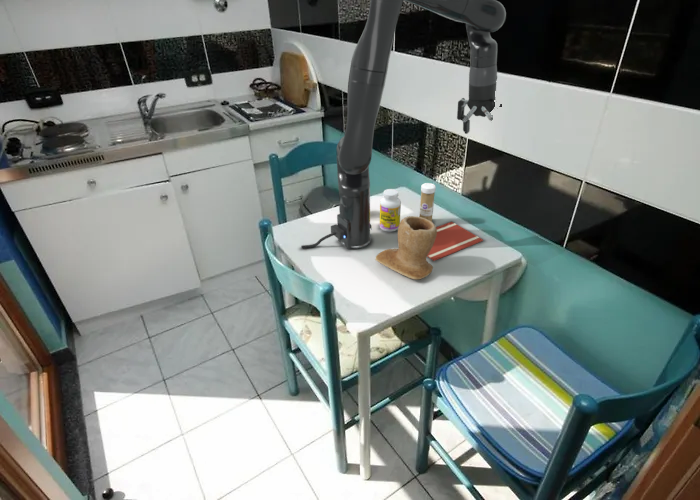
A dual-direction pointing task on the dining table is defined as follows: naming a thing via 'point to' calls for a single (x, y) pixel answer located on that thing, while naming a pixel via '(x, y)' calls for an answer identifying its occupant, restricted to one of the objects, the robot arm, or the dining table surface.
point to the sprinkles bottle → (427, 200)
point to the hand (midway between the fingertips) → (480, 134)
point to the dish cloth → (451, 240)
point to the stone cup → (411, 248)
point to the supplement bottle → (390, 210)
